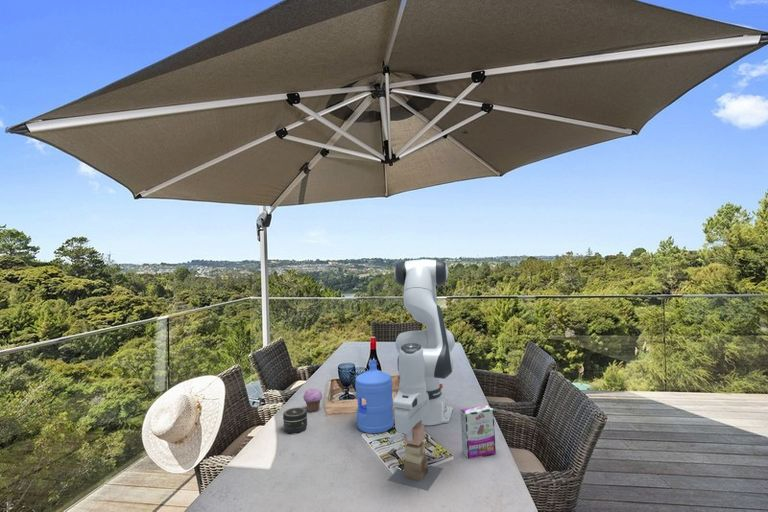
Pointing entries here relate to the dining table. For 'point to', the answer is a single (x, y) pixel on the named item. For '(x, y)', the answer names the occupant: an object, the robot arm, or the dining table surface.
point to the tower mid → (415, 453)
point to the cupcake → (312, 399)
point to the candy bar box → (478, 431)
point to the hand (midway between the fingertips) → (414, 435)
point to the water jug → (374, 400)
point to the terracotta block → (417, 434)
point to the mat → (423, 484)
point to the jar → (295, 420)
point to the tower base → (416, 469)
